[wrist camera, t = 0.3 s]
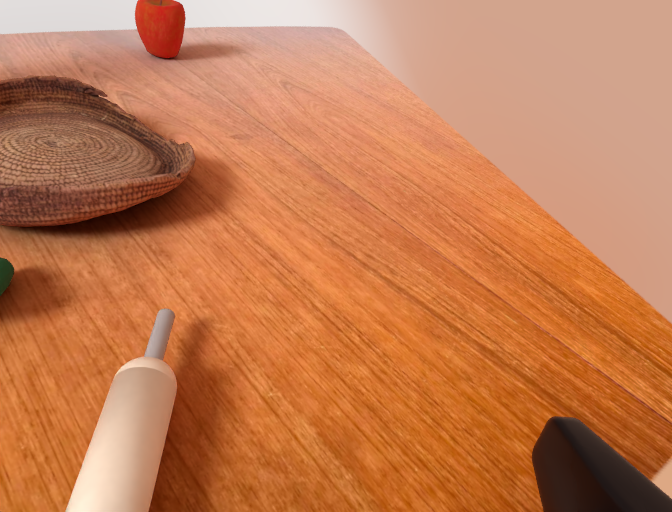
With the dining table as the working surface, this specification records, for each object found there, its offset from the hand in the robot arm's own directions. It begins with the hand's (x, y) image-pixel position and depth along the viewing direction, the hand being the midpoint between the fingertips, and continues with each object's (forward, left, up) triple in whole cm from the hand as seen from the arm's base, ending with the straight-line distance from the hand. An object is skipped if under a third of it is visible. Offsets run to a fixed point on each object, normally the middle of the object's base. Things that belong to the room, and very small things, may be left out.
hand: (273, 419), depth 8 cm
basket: (+37, +18, -18) cm, 44 cm away
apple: (+73, +17, -18) cm, 77 cm away
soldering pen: (+10, +6, -18) cm, 21 cm away
